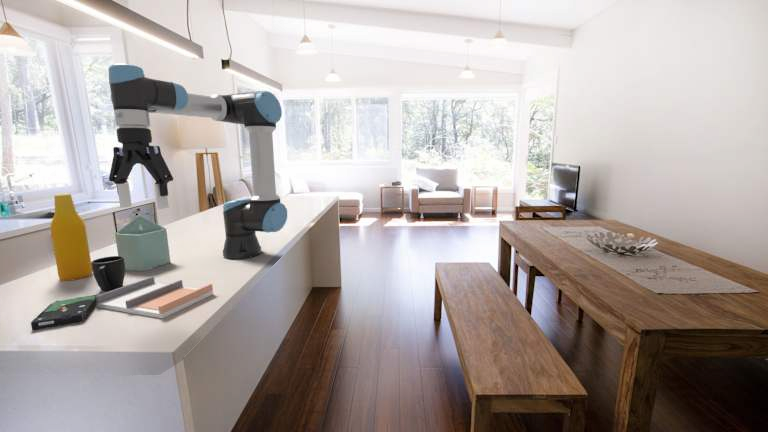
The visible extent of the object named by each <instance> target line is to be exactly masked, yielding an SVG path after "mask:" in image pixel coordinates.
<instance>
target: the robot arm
mask: <svg viewBox="0 0 768 432" xmlns="http://www.w3.org/2000/svg"><path fill="white" fill-rule="evenodd" d="M108 84H109V88H110V100H111V103H112V107H113V112H114V121H115V126H117V127H118V128H117V129H116V135H117V136H116V137H117V142H118V143H119V144H122V146H114V147H113V149H112V151H113V157H112V163H111V167H110V173H109V177H108V181H109V182H113V183H114V184H115V186H116V192H117V195H118V200H119V201H118V202H119V207H120V208H121V209H123V208H129V207H132V206H133V204H132V199H131V190H130V185H129V181H128V179H129V176H130V174H131V172H132V170H133V169H134V168H133V167H134V166H135V165H137V164H140V165H143V166H144V168H145V169H146V171H147V172H148V173H149V174H150V175H151V177H152V178H153V180H154V181H155V183H154V191H155V198H156V199H155V200H156V207H157V210H163V209H169V199H168V196H169V190H168V184H169V182H173V180H174V176H173V175H172V173H171V170H170V169H169V167H168V164H167V163H166V161H165V158H164V156H163V155H162V152H161V147H160V146H159V145H150V144H151V143H152V142H153V138H152V136H153V135H152V130H151V129H150V127H151V121H150V113H151V114H162V115H172V116H173V115H174V116H175V115H176V116H186V117H187V116H188V117H197V118H198V117H199V118H208V119H211V120H213V121H215V122H223V123H229V124H234V125H235V124H236V125H243V126H244V127H243V128H244V129H245V130H246V131H247V132H248V138H249V151H250V164H251V181H252V196H251V197H250V198H243V199H236V200H231V201H230V200H229V201H226V202H224V203H223V207H222V208H223V209H222V210H223V212H222V214H223V222H224V223H223V224H224V231H225V240H224V245H223V249H222V257H223V256H224V257H225V259H228V258H241V259H246V258H245V257H248V258H251V257H250V256H253V257H255V256H254V255H256V256H258V255H257V254H259V253H260V254H262V246H261V245H260V242H259V239H258V237H257V235H256V232H263V233H277V232H279V231H280V230H282V229H283V228H284V226H285V225H286V222H287V219H288V208H287V207H286V205H285V204H283V203H282V202H281V197H280V196H279V195H278V194H277V189H276V187H277V186H276V171H275V156H274V142H273V141H274V140H273V138H274V137H273V132H274V131H276V129H277V123H279V122H280V120H281V118H282V113H283V111H282V105H281V103H280V101H279V100H278V98H277V96H276V95H275V94H274V93H272V92H271V91H267V90H257V91H251V92H239V93H234V94H233V93H232V94H224V95H223V94H213V95H211V96H209V95H203V94H197V93H196V94H195V93H188V92H187V90H186V89H185V87H184V86H183V85H181V84H179V83H175V82H173V81H166V80H161V79H160V80H159V79H154V78H149V77H146V76H145V74H144V69H143V68H142V67H140V66H138V65H134V64H127V63H115V64H111V65H110V66H109V67H108ZM260 254H259V255H260ZM224 257H223V258H224Z"/></svg>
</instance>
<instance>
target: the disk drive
mask: <svg viewBox="0 0 768 432" xmlns="http://www.w3.org/2000/svg"><path fill="white" fill-rule="evenodd" d="M98 295H99V294H93V295H86V296H79V297H75V298H70V299H69V298H68V299H63V300H55V301H54V302H52V303H50V304H49V305H48V306H47V307H46V308H45V309H43V310H42V312H40V313H39V314H37V316H36V317H35V318H33V320H32V321H31V322H30V326H31V330H32V331H39V330H44V329H51V328H55V327H61V326H66V325H75V324H79V323H84V322H85V321H86V320H87V319H88V317H90V315H91V313H92V312H93V311H94V309H95V308H97V304H96V298H95V296H98Z"/></svg>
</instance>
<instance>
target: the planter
mask: <svg viewBox="0 0 768 432" xmlns="http://www.w3.org/2000/svg"><path fill="white" fill-rule="evenodd" d="M140 225H141V227H142V228H141V229H140ZM114 236H115V244H116V250H117V256H123V257H124V263H125V269H130V270H129V271H134V270H140V271H139V272H145V271H144V270H146V271H148V270H147V269H149V270H151V269H150V268H152V269H154V268H153V267H155V268H157V267H156V266H158V267H160V266H159V265H162V264H165V263H168V262H170V263H171V255H170V247H169V240H168V239H169V238H168V232H167V228H166V227H164V226H162V225H160V224H158V223H156V222H154V221H152V220H149V219H148V218H146V217H144V216H142V215H140V214H139V215H137V216H136V217H134V218H133V219H132V220H131V221H129V222H128V223H127V224H126V225H124V226H123V227H122V228H120V229H119V230H117V232H115V233H114ZM168 264H169V263H168ZM165 265H166V264H165ZM162 266H163V265H162Z"/></svg>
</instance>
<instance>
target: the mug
mask: <svg viewBox="0 0 768 432" xmlns="http://www.w3.org/2000/svg"><path fill="white" fill-rule="evenodd" d="M91 265H92V270H93V272H92V275H93V277H94V279H95V281H96V284H97V286H98V287H99V288H100V290H101V292H109V291H112V290H115V289H118V288H121V287H124V280H125V276H126V270H125V263H124V257H123V256H118V255H114V256H113V255H112V256H105V257H100V258H96V259H94V260H91Z"/></svg>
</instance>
